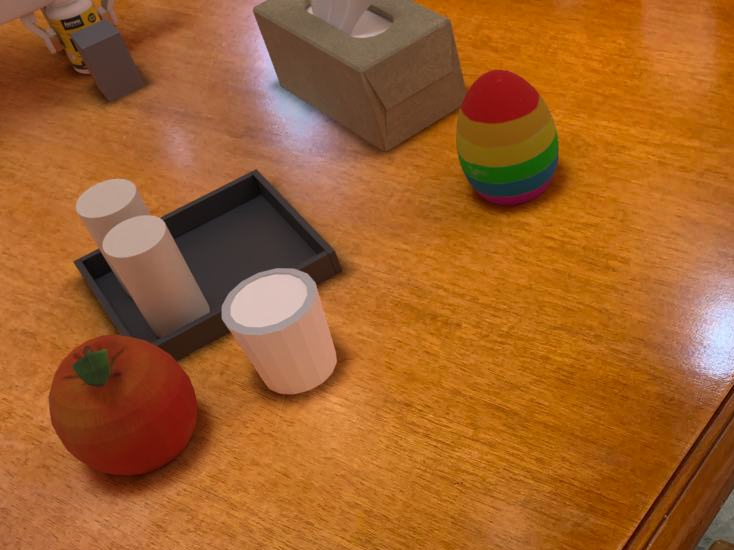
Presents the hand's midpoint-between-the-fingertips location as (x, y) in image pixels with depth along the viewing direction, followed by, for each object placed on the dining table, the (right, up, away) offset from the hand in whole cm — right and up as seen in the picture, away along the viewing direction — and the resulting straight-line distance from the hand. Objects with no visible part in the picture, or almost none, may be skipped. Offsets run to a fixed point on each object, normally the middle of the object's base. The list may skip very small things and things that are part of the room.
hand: (84, 38), depth 107 cm
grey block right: (+5, -6, -2) cm, 8 cm away
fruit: (+19, -46, -33) cm, 59 cm away
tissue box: (+32, -10, -9) cm, 35 cm away
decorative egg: (+45, -23, -21) cm, 55 cm away
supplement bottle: (0, -2, +2) cm, 3 cm away
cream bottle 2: (+19, -35, -26) cm, 47 cm away
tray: (+21, -31, -23) cm, 43 cm away
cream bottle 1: (+15, -31, -22) cm, 41 cm away
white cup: (+30, -40, -30) cm, 58 cm away
